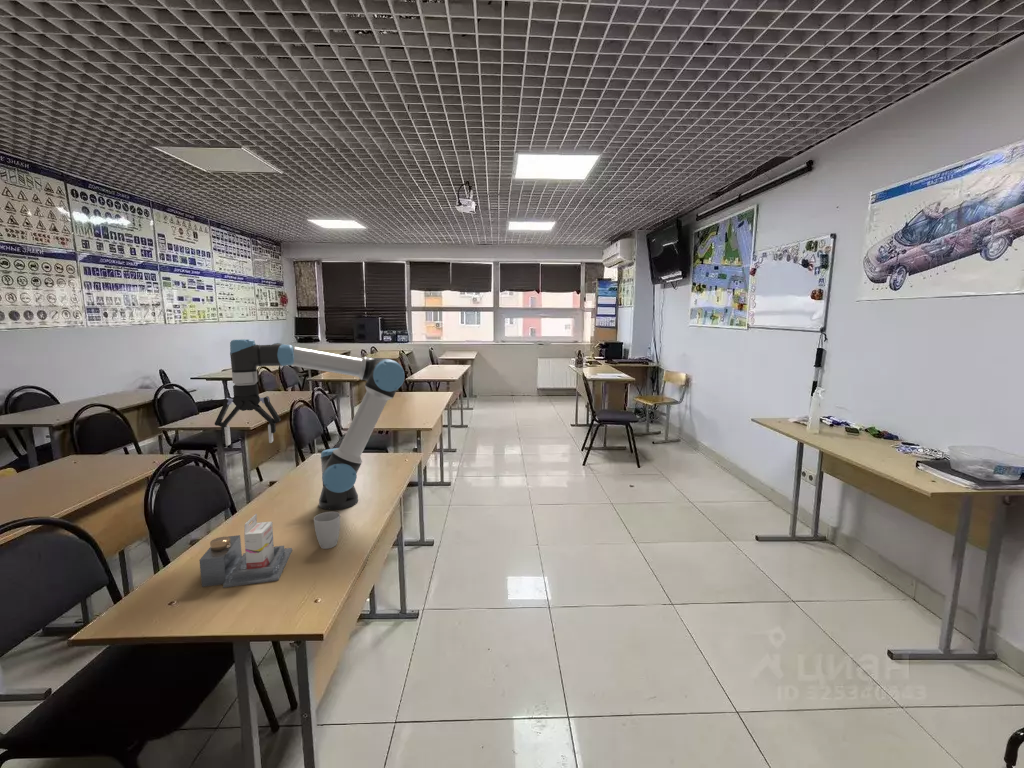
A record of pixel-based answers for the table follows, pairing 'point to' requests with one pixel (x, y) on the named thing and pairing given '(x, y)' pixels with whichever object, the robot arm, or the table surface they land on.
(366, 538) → the table surface
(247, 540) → the ink cartridge box
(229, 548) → the grey stepped base
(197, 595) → the table surface
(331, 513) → the cup
